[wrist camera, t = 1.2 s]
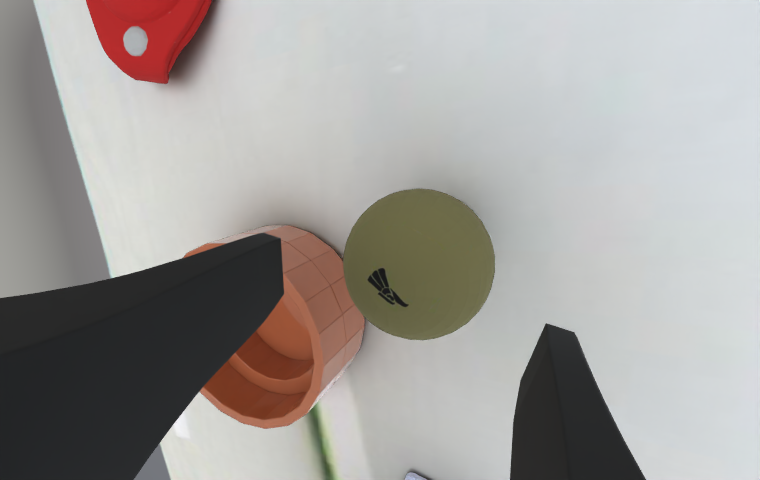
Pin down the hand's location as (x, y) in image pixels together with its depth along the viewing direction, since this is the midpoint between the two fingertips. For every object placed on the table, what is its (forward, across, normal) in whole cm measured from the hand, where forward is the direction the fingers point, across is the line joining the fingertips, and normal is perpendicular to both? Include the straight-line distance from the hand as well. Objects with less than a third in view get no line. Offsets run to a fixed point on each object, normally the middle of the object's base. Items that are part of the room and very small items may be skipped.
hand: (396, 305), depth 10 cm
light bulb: (+11, 0, +3) cm, 12 cm away
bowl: (+10, +10, +12) cm, 18 cm away
